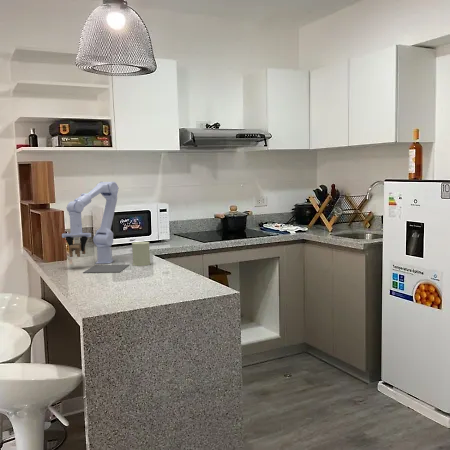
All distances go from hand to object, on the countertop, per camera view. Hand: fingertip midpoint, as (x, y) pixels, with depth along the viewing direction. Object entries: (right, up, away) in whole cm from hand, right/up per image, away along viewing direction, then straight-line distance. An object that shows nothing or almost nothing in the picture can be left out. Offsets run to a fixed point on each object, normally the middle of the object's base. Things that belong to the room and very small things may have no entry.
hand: (77, 251), depth 261 cm
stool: (0, -2, 0) cm, 2 cm away
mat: (+16, -9, -4) cm, 19 cm away
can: (+32, -8, +7) cm, 33 cm away
